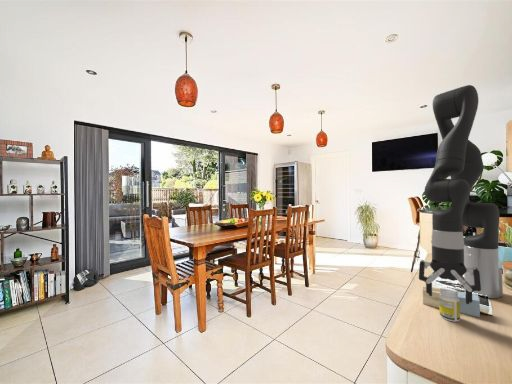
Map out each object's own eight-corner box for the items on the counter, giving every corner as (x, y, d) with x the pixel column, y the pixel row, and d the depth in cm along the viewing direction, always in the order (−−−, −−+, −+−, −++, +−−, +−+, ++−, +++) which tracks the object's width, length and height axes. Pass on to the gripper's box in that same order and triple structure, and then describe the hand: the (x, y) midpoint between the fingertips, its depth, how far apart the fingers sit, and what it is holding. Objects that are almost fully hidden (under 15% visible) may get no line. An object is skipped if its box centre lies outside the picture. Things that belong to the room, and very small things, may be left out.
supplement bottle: (452, 313, 72) (451, 286, 72) (464, 322, 68) (463, 293, 68) (435, 313, 73) (435, 286, 73) (446, 322, 68) (446, 293, 68)
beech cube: (424, 298, 83) (424, 284, 83) (442, 302, 79) (442, 288, 79) (423, 304, 79) (422, 289, 79) (441, 308, 76) (441, 293, 76)
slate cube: (457, 306, 77) (457, 291, 77) (478, 311, 74) (478, 295, 74) (457, 312, 73) (457, 296, 73) (479, 317, 70) (479, 301, 70)
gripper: (478, 246, 68) (479, 301, 68) (419, 240, 78) (420, 289, 77) (481, 251, 63) (482, 311, 63) (417, 244, 72) (418, 296, 72)
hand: (448, 299), depth 70 cm, fingers open, 8 cm apart
